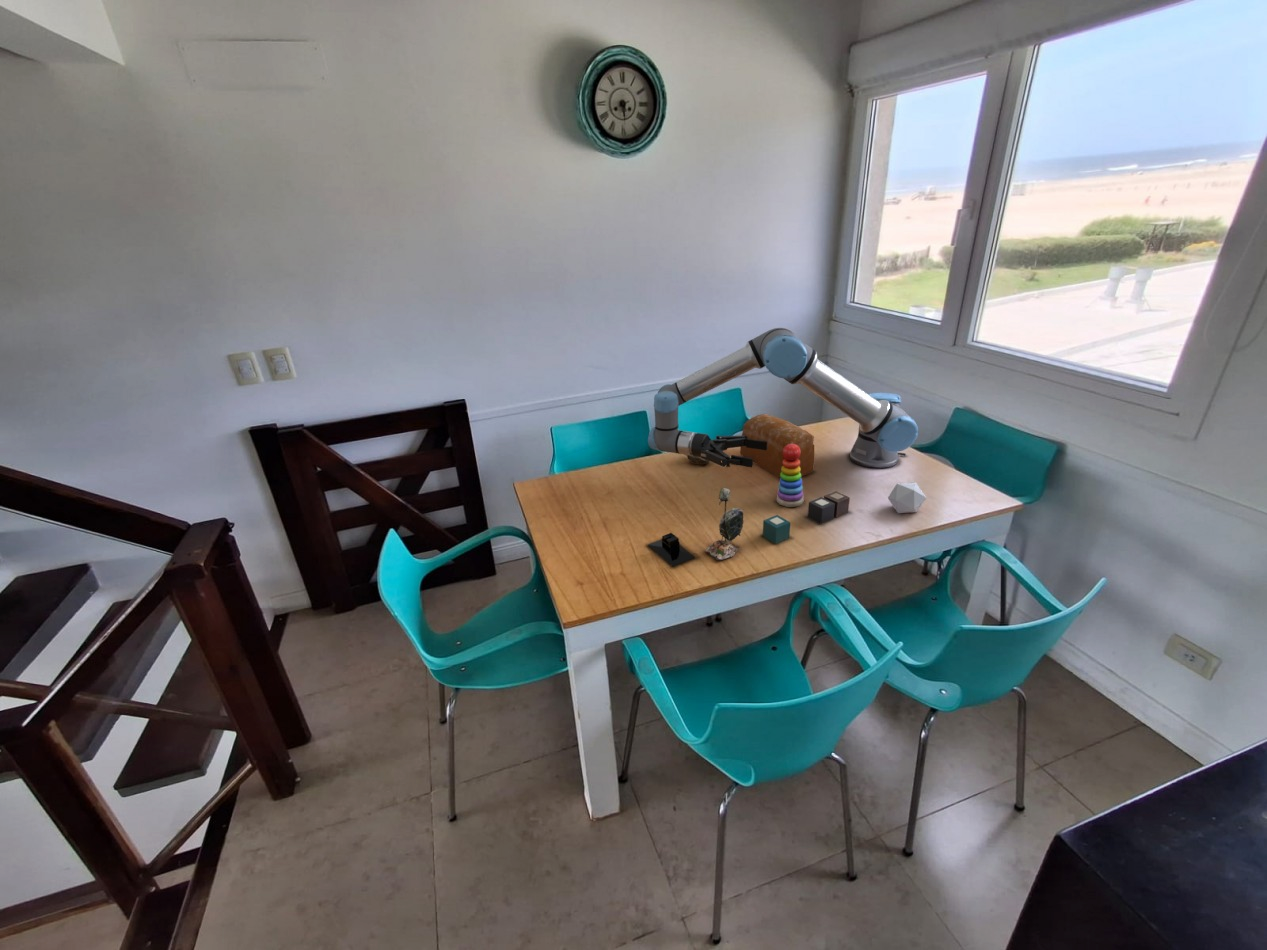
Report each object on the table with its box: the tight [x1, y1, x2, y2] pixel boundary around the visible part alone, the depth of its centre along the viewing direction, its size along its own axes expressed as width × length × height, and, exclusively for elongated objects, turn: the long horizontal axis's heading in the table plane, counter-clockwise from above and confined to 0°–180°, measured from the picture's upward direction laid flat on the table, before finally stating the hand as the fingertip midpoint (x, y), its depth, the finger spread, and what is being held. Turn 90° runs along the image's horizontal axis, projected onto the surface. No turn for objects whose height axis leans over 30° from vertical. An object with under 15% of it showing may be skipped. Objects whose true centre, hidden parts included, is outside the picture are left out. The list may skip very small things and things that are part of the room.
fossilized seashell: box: [686, 455, 711, 466], centre depth 198 cm, size 8×7×10 cm
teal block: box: [762, 514, 791, 545], centre depth 150 cm, size 5×5×5 cm
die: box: [887, 482, 927, 514], centre depth 158 cm, size 8×9×10 cm
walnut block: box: [823, 490, 851, 518], centre depth 160 cm, size 5×5×5 cm
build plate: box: [647, 532, 696, 568], centre depth 147 cm, size 12×7×5 cm, turn 30°
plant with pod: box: [704, 487, 745, 561], centre depth 143 cm, size 8×11×20 cm
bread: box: [739, 413, 815, 479], centre depth 190 cm, size 14×26×16 cm, turn 26°
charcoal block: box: [807, 496, 835, 525], centre depth 157 cm, size 5×5×5 cm
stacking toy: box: [776, 444, 805, 508], centre depth 164 cm, size 8×8×19 cm
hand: (760, 454), depth 166 cm, fingers open, 13 cm apart
